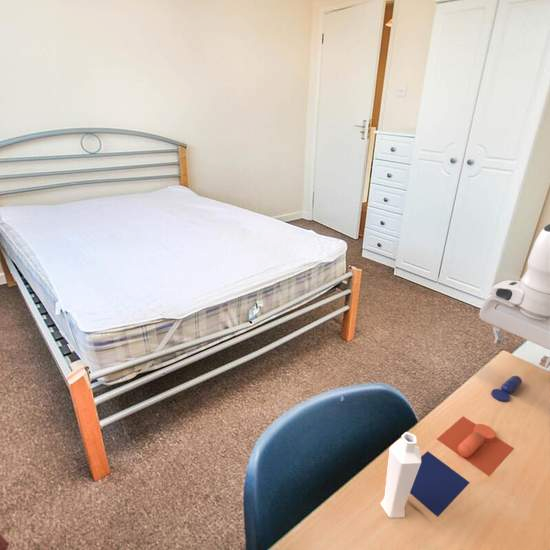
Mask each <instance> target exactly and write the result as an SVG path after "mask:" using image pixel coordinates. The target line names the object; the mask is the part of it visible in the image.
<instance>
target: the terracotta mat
mask: <svg viewBox="0 0 550 550" xmlns="http://www.w3.org/2000/svg"><path fill="white" fill-rule="evenodd" d="M475 425H477V423H475V422H473V421H471V420H470V419H468V418H467V417H465V416H463V415H462V416H461V417H460V418H459V419H458V420H457V421H455V423H453V424H452V425H451V426H450V427H448V429H446V430H445V431H444V432H443V433H441V435H439V436H438V437H437V438H436V440H437V441H439V442H440V443H441V444H442V445H444V446H446V447H447V448H448V449H450V450H451V451H452V452H454V453H455V454H457V455H458V456H459V457H461V458H462V459H464V460H465V461H466V462H468V463H469V464H471V465H472V466H473V467H475V468H477V470H479V471H480V472H482V473H483V474H485V475H486V476H488V477H490V476H491V475H492V474H493V473H494V472H495V471H496V470H497V469H498V467H500V465H501V464H502V463H503V462H504V460H505V459H507V457H508V456H509V455H510V454H511V453H512V451H514V449H515V448H514V447H513V446H512V445H509V444H508V443H507V442H505V441H503V440H502V439H500V438H499V437H497V436H495V437H494V440H493V441H492V442H490V443H486V442H484V443H483V444H482V445H481V446H480V447H479V448H478V449H477V450H476V451H475V452H474V453H473V454H472V455H471V456H469V457H463V456H461V455H460V454H459V452H458V446H459V444H460V443H461V442H463V441H464V440H465V439H466V438H467V437H468V436H469V435H470V434H471V433H472V432H473V430H474V427H475Z"/></svg>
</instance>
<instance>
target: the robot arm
mask: <svg viewBox="0 0 550 550" xmlns="http://www.w3.org/2000/svg"><path fill="white" fill-rule="evenodd" d="M526 268H527V269H526V271H525V273H524V275H523V276H522V277H521V280H509V279H508V280H507V279H506V280H503V281H501V282H498V283H496V284H495V285H494V286H492V288H491V291H490V295H488V296H486V297H485V299H484V301H483V303H482V306H481V307H480V310H479V313H478V316H479V318H480V320H481V321H482V322H484V323H487V324H490V325H491V326H493V327H492V331H493V332H492V333H493V335H494V337H495V338H494V341H493V344H495V345H497V346H499V347H502V346H503V345H505V342H506V339H507V338H506V337H504V336H503V334H502V331H505V332H508V333H510V334H513V335H514V336H517V337H519V338H521V339H524V340H526V341H528V342H531V343H533V344H536V345H538V346H540V347H542V348H545V349H547V350H549V351H550V223H549V224H547V225H545V226H544V227H543V228H542V229H541V231H540V233H539V234H538V236H537V237H536V240H535V241H534V244H533V246H532V248H531V251H530V253H529V256H528V259H527V267H526ZM538 364H539V366H541V367H543V368H546V369H548V368H549V367H550V356H547V355H543V357H541V359H540V362H539V363H538Z"/></svg>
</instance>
